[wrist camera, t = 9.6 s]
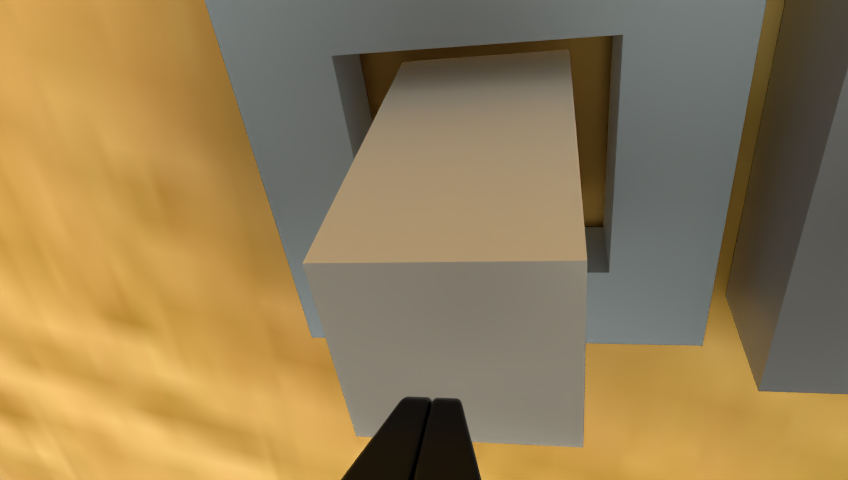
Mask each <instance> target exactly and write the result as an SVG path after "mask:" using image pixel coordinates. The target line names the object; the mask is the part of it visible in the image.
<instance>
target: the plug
mask: <svg viewBox="0 0 848 480" xmlns="http://www.w3.org/2000/svg"><path fill="white" fill-rule="evenodd" d="M302 264H303V267H304V270H305V273H306V276H307V280H308V283H309V286H310V289H311V292H312V296H313V299H314V302H315V305H316V308H317V312H318V315H319V318H320V321H321V324H322V328H323V331H324V334H325V337H326V340H327V344H328V347H329V350H330V353H331V356H332V360H333V363H334V366H335V369H336V372H337V376H338V379H339V382H340V385H341V388H342V392H343V395H344V398H345V401H346V404H347V408H348V411H349V414H350V417H351V420H352V424H353V427H354V430H355V433H356V436H362V437H373V436H374V435H375V434H376V432H377V431H378V430H379V428H380V427H381V426H382V424H383V423H384V422H385V420H386V419H387V418H388V416H389V415H390V414H391V412H392V411H393V410H394V408H395V407H396V406H397V404H398V403H399V402H400V401H401V400H402V399H403V398H405V397H408V396H411V397H428V398H430V399H431V400H432V401H433V399H435V398H458V399H460V400H461V402H462V405H463V409H464V413H465V417H466V421H467V425H468V429H469V433H470V437H471V441H472V442H484V443H504V444H525V445H545V446H565V447H583V438H584V392H585V345H586V299H587V251H586V239H585V227H584V216H583V204H582V192H581V180H580V169H579V157H578V145H577V133H576V122H575V110H574V98H573V86H572V75H571V63H570V51H569V49H565V50H552V51H539V52H526V53H513V54H500V55H487V56H474V57H461V58H448V59H435V60H422V61H409V62H402V64H401V66H400V68H399V70H398V72H397V74H396V76H395V78H394V80H393V82H392V84H391V86H390V88H389V90H388V92H387V94H386V96H385V98H384V100H383V102H382V104H381V106H380V109H379V111H378V113H377V115H376V117H375V119H374V121H373V123H372V125H371V127H370V129H369V131H368V133H367V135H366V137H365V139H364V141H363V143H362V145H361V147H360V149H359V151H358V153H357V155H356V157H355V159H354V161H353V163H352V165H351V167H350V169H349V171H348V173H347V175H346V177H345V179H344V181H343V183H342V185H341V187H340V189H339V191H338V193H337V195H336V197H335V199H334V201H333V203H332V205H331V207H330V209H329V211H328V213H327V215H326V217H325V219H324V221H323V223H322V225H321V227H320V229H319V231H318V233H317V235H316V237H315V239H314V241H313V243H312V245H311V247H310V249H309V251H308V253H307V255H306V257H305V259H304V261H303V263H302Z"/></svg>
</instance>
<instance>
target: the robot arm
mask: <svg viewBox="0 0 848 480" xmlns="http://www.w3.org/2000/svg"><path fill="white" fill-rule="evenodd" d="M341 480H481V476H480V473H479V469H478V465H477V461H476V457H475V453H474V449H473V445H472V441H471V437H470V433H469V429H468V425H467V421H466V417H465V413H464V409H463V405H462V402H461V400H460V399H458V398H435V399H433V401H432V400H431V399H430V398H428V397H411V396H408V397H405V398H403V399H402V400H401V401H400V402H399V403H398V404H397V406H396V407H395V408H394V410H393V411H392V412H391V414H390V415H389V416H388V418H387V419H386V420H385V422H384V423H383V424H382V426H381V427H380V428H379V430H378V431H377V432H376V434H375V435H374V436H373V438H372V439H371V440H370V442H369V443H368V444H367V446H366V447H365V448H364V450H363V451H362V452H361V454H360V455H359V456H358V458H357V459H356V460H355V462H354V463H353V464H352V466H351V467H350V468H349V470H348V471H347V472H346V474H345V475H344V476H343V478H342V479H341Z"/></svg>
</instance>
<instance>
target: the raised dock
mask: <svg viewBox="0 0 848 480" xmlns="http://www.w3.org/2000/svg"><path fill="white" fill-rule="evenodd" d="M726 299H727V302H728V304H729V307H730V310H731V313H732V316H733V319H734V322H735V325H736V328H737V330H738V333H739V336H740V339H741V342H742V345H743V348H744V351H745V354H746V357H747V359H748V362H749V365H750V368H751V371H752V374H753V377H754V380H755V383H756V385H757V388H758V391H772V392H801V393H830V394H848V0H786V1H785V6H784V11H783V16H782V21H781V26H780V31H779V36H778V41H777V46H776V51H775V56H774V60H773V65H772V70H771V75H770V80H769V85H768V90H767V95H766V100H765V105H764V110H763V115H762V120H761V124H760V129H759V134H758V139H757V144H756V149H755V154H754V159H753V164H752V169H751V174H750V179H749V183H748V188H747V193H746V198H745V203H744V208H743V213H742V218H741V223H740V228H739V233H738V238H737V243H736V247H735V252H734V257H733V262H732V267H731V272H730V277H729V282H728V287H727V292H726Z"/></svg>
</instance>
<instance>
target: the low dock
mask: <svg viewBox="0 0 848 480" xmlns="http://www.w3.org/2000/svg"><path fill="white" fill-rule="evenodd" d="M766 1H767V0H205V3H206V6H207V10H208V13H209V16H210V19H211V22H212V25H213V28H214V32H215V35H216V38H217V41H218V44H219V47H220V50H221V53H222V57H223V60H224V63H225V66H226V69H227V72H228V75H229V79H230V82H231V85H232V88H233V91H234V94H235V97H236V100H237V104H238V107H239V110H240V113H241V116H242V119H243V122H244V126H245V129H246V132H247V135H248V138H249V141H250V144H251V147H252V151H253V154H254V157H255V160H256V163H257V166H258V169H259V173H260V176H261V179H262V182H263V185H264V188H265V191H266V194H267V198H268V201H269V204H270V207H271V210H272V213H273V216H274V219H275V223H276V226H277V229H278V232H279V235H280V238H281V241H282V245H283V248H284V251H285V254H286V257H287V260H288V263H289V266H290V270H291V273H292V276H293V279H294V282H295V285H296V288H297V292H298V295H299V298H300V301H301V304H302V307H303V310H304V313H305V317H306V320H307V323H308V326H309V329H310V332H311V335H312V337H320V338H326V337H325V334H324V331H323V328H322V324H321V321H320V318H319V315H318V312H317V308H316V305H315V302H314V299H313V296H312V292H311V289H310V286H309V283H308V280H307V276H306V273H305V270H304V267H303V264H302V263H303V261H304V259H305V257H306V255H307V253H308V251H309V249H310V247H311V245H312V243H313V241H314V239H315V237H316V235H317V233H318V231H319V229H320V227H321V225H322V223H323V221H324V219H325V217H326V215H327V213H328V211H329V209H330V207H331V205H332V203H333V201H334V199H335V197H336V195H337V193H338V191H339V189H340V187H341V185H342V183H343V181H344V179H345V177H346V175H347V173H348V171H349V169H350V167H351V165H352V163H353V161H354V159H355V157H356V155H357V153H358V151H359V149H360V147H361V145H362V143H363V141H364V139H365V137H366V135H367V133H368V131H369V129H370V127H371V125H372V118H371V113H370V107H369V102H368V97H367V92H366V86H365V81H364V76H363V70H362V65H361V60H360V55H359V54H364V53H377V52H391V51H405V50H419V49H432V48H446V47H460V46H474V45H487V44H501V43H515V42H529V41H542V40H556V39H570V38H584V37H598V36H611V35H613V40H612V60H611V81H610V101H609V121H608V142H607V162H606V182H605V203H604V223H603V227H585V239H586V251H587V299H586V343H604V344H651V345H698V346H702V345H703V340H704V334H705V329H706V324H707V318H708V313H709V308H710V302H711V297H712V291H713V286H714V281H715V275H716V270H717V265H718V259H719V254H720V248H721V243H722V238H723V232H724V227H725V222H726V216H727V211H728V205H729V200H730V195H731V189H732V184H733V179H734V173H735V168H736V162H737V157H738V152H739V146H740V141H741V136H742V130H743V125H744V119H745V114H746V109H747V103H748V98H749V93H750V87H751V82H752V76H753V71H754V66H755V60H756V55H757V50H758V44H759V39H760V34H761V28H762V23H763V17H764V12H765V7H766Z"/></svg>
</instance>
